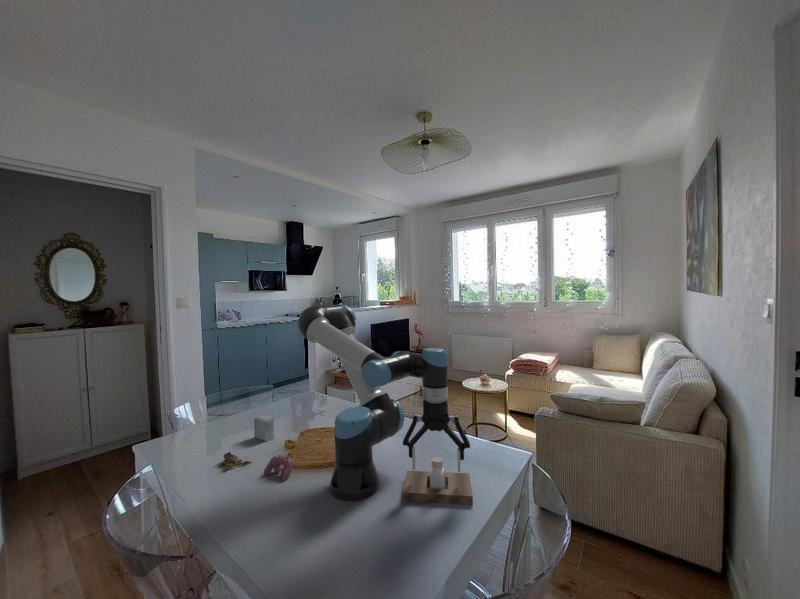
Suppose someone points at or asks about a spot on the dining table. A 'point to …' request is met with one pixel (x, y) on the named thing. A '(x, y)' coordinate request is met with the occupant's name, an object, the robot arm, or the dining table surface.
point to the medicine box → (264, 428)
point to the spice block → (455, 493)
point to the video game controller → (277, 463)
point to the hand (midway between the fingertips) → (436, 468)
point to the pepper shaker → (437, 474)
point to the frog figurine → (234, 462)
